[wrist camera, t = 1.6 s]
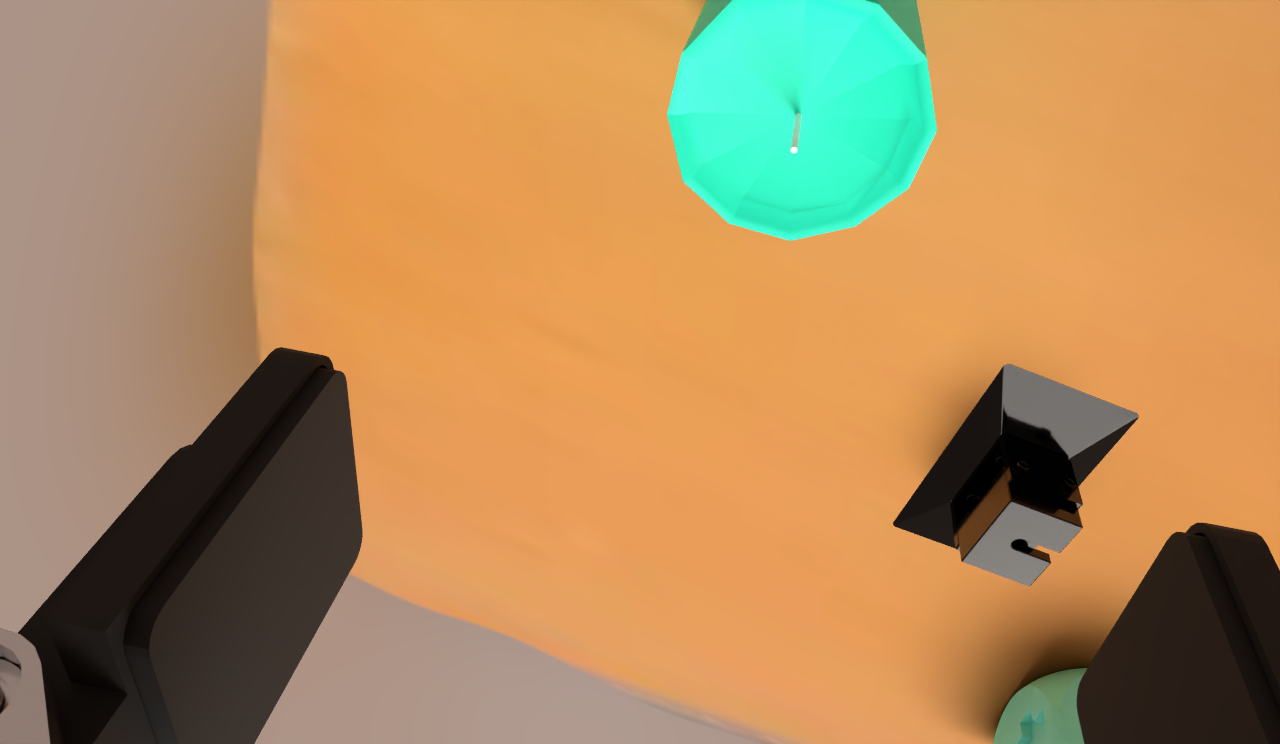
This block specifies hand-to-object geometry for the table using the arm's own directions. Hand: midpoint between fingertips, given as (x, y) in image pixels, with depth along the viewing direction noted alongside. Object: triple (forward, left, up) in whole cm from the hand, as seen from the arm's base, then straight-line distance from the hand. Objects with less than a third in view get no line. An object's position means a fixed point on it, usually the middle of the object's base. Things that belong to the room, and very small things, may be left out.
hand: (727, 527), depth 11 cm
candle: (0, 0, -24) cm, 24 cm away
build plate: (-17, -12, -24) cm, 32 cm away
